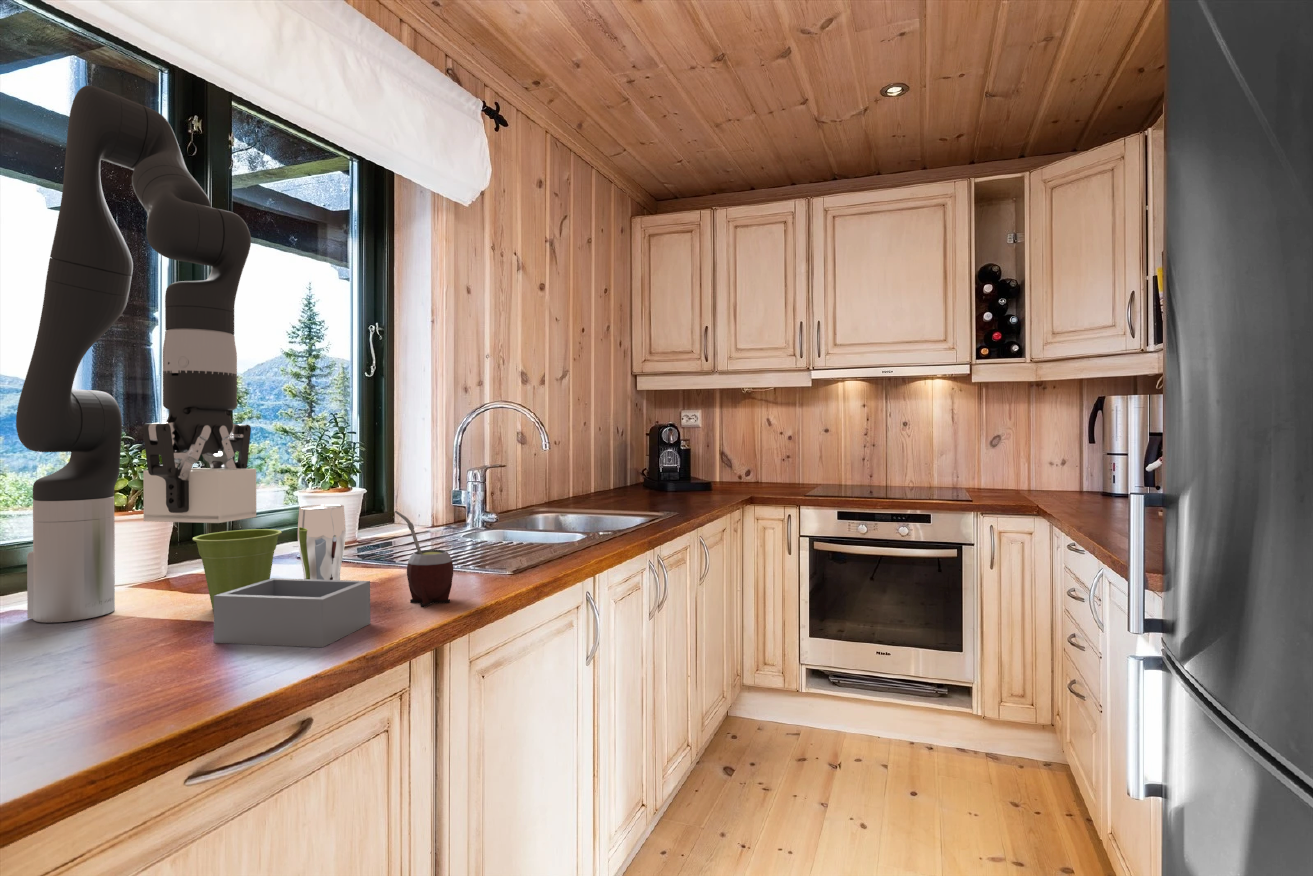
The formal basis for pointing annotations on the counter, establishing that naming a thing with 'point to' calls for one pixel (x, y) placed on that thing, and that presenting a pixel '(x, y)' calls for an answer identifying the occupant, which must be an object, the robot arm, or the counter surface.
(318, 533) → the beer glass
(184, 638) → the counter surface
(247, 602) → the slate crate
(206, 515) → the white crate
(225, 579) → the plant pot
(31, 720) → the counter surface
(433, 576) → the mate gourd
